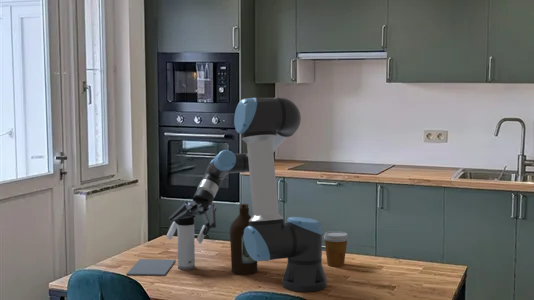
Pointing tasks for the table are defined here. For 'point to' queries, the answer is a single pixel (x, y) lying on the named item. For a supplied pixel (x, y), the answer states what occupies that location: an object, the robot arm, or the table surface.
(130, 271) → the rubber mat
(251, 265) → the olive oil
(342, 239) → the disposable coffee cup
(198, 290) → the table surface
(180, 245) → the travel mug
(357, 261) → the table surface
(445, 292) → the table surface
